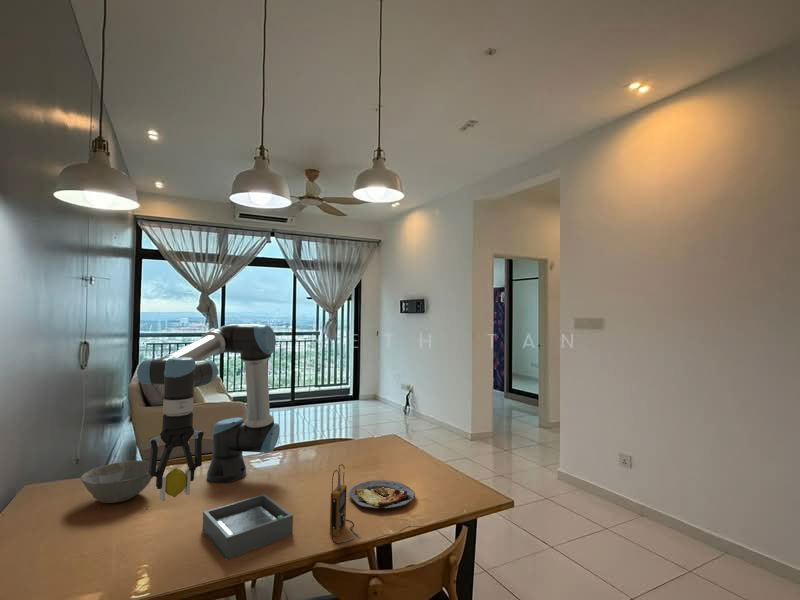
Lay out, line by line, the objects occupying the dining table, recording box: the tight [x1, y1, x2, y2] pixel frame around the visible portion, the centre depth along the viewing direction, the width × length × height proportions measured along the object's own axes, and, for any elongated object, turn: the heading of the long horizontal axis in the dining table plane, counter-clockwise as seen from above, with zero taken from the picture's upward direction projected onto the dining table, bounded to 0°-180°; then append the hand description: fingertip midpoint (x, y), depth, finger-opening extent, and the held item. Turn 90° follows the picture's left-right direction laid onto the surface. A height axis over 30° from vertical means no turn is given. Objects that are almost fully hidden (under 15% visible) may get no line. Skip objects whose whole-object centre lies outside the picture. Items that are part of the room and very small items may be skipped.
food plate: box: [348, 479, 416, 510], centre depth 153 cm, size 25×23×4 cm
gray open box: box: [202, 493, 294, 561], centre depth 126 cm, size 20×20×7 cm
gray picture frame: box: [216, 506, 276, 535], centre depth 126 cm, size 15×15×1 cm
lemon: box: [165, 467, 186, 498], centre depth 114 cm, size 6×6×8 cm
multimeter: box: [329, 464, 362, 545], centre depth 128 cm, size 15×10×20 cm
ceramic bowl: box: [80, 459, 159, 504], centre depth 148 cm, size 22×23×10 cm
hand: (174, 496), depth 114 cm, fingers closed on lemon, 5 cm apart
